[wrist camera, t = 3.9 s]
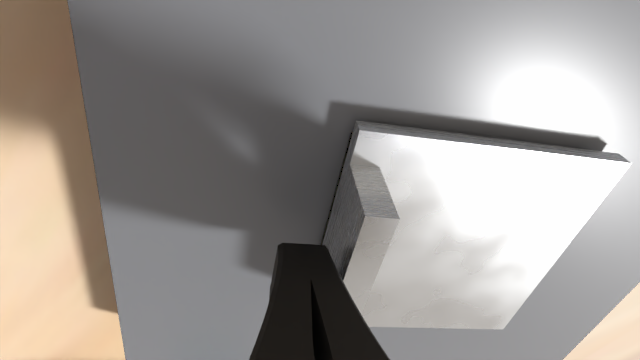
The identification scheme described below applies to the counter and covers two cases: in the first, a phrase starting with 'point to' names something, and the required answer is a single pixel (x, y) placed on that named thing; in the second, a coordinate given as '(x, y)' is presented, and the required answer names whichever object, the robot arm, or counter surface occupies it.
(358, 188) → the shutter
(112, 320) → the counter surface
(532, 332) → the socket plate
